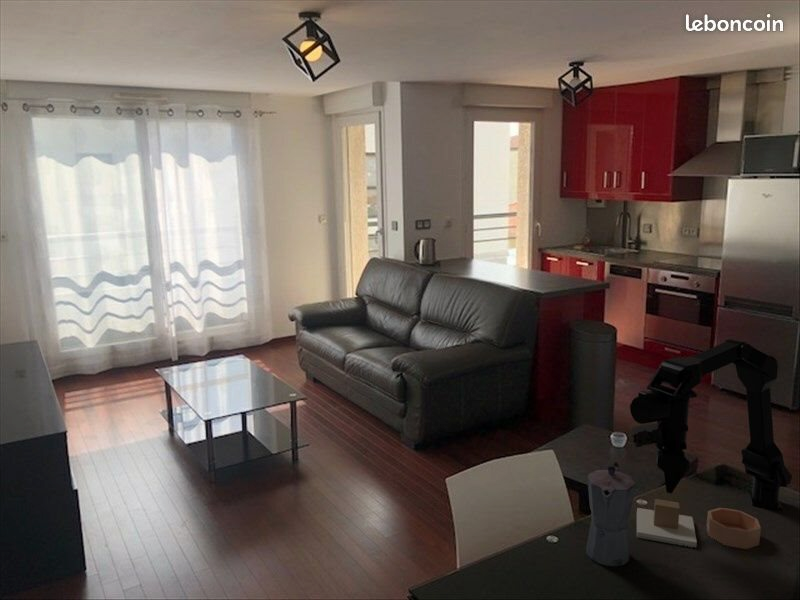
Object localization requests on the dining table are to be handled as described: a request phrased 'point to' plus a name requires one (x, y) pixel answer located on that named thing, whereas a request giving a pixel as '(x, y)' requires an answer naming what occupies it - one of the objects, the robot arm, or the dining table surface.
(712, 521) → the bowl
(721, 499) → the dining table surface
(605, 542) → the moka pot
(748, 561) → the dining table surface
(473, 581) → the dining table surface
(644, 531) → the cover
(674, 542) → the mat
